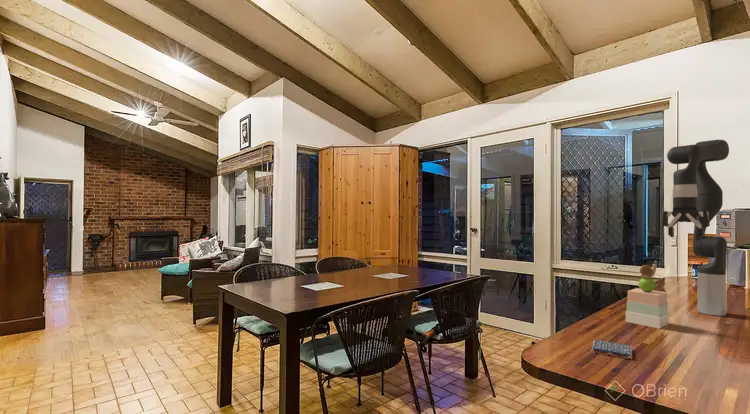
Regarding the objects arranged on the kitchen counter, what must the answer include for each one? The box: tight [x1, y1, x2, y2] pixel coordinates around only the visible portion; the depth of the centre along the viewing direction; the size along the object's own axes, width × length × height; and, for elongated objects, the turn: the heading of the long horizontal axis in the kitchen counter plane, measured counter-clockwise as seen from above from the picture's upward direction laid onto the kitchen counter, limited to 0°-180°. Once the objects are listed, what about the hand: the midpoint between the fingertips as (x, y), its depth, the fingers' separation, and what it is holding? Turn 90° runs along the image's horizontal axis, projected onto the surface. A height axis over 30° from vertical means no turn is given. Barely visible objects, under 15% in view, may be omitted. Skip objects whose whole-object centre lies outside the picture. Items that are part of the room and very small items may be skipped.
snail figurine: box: [638, 260, 658, 292], centre depth 147 cm, size 5×6×12 cm
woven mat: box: [590, 338, 633, 360], centre depth 114 cm, size 10×11×2 cm
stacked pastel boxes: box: [625, 287, 670, 329], centre depth 147 cm, size 11×11×12 cm
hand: (685, 237), depth 148 cm, fingers open, 8 cm apart
